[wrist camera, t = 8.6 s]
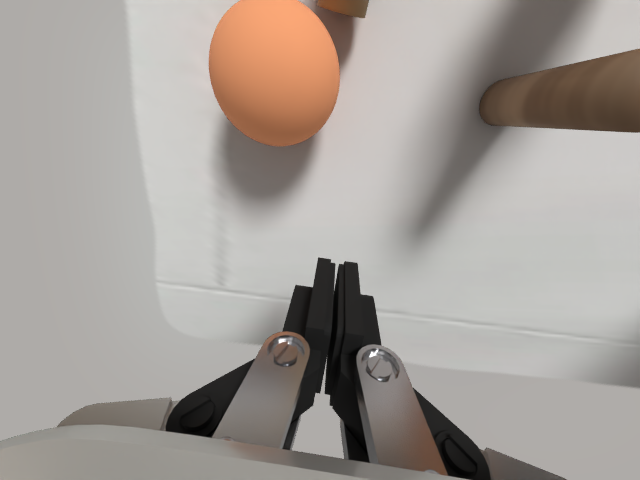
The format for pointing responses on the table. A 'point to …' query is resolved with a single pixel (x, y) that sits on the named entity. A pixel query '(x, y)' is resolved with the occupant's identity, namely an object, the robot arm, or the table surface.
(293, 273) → the table surface
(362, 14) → the oak pin
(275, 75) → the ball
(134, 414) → the robot arm
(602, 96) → the walnut pin
